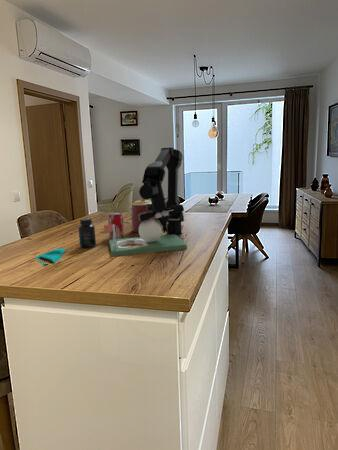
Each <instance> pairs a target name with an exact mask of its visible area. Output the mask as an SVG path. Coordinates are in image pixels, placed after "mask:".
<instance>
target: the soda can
mask: <svg viewBox="0 0 338 450" xmlns="http://www.w3.org/2000/svg"><path fill="white" fill-rule="evenodd" d="M107 219H108V220H107V221H108V223H107V225H115V239H124V238H125V224H124V216H123V215H122V212H118V211H117V212H109V213H108V217H107ZM108 236H109V238H110V240H112V239H113V231H108Z"/></svg>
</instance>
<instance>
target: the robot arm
mask: <svg viewBox="0 0 338 450" xmlns="http://www.w3.org/2000/svg"><path fill="white" fill-rule="evenodd" d="M182 160H183V153H182V151H180V150H178V149H176V148H174V147H173V146H165V147H164V146H163V147H161V148H160V152H159V154H158V155H157V157H156V158H155V160H154V161H153V162H152V163H150V164H148V165H146V167H145V169H144V173H143V177H142V180H141V181H142V184H143V185H141V186H140V188H139V190H138V193H139V196H140V198H141V197H142V198H143V199H145V200H150V201H151V204H146V207H147V211H148V212H151V211H152V213H148V212H145V213H141V214H139V215H138V218H139V221H145V220H148V219H149V218H150V217H155V218H154V219H156V220H157V221H158V222H159V223H160V224H161V226H162V233H164V234H165V233H166V234H167V235H172V234H175V235H183V232H182V222H184V221H185V216H184V214H183V212H184V211H185V209H184V206H183V205H182V204H180V203H179V200H178V196H179V195H178V194H179V193H178V191H179V190H178V187H179V186H178V185H179V184H178V180H179V179H178V178H179V169H180V167H181V166H182ZM165 168H167V201H166V197H165V195H164V189H163V186H162V184H163V181H164V179H165V176H166V170H165Z"/></svg>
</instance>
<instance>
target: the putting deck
mask: <svg viewBox="0 0 338 450" xmlns="http://www.w3.org/2000/svg"><path fill="white" fill-rule="evenodd" d="M103 229H104V231H103V232H104V233H105V232H109V231H113V239H109V240H108V242H109V249H110V253H111V254H110V255H111V256H112V257H115V256H116V257H117V256H126V255H127V256H128V255H135V254H136V255H137V254H149V253H159V252H160V253H161V252H168V251H171V252H172V251H177V250H178V251H180V250H188V245H187V243H186V242H184V241H183V239H181V238H180V237H179V236H178V234H176V235H175V234H172V235H169V234H162V235H161V237H160V238H159V239H158V240H157V241H155V242H146V241H144V240H143V239H142V238H141V237H140V236H139V237H138V236H136V237H127V238H125V237H123V238H122V239H115V225H108V224H104V225H103ZM127 245H139V246H127Z"/></svg>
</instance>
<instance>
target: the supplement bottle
mask: <svg viewBox="0 0 338 450" xmlns="http://www.w3.org/2000/svg"><path fill="white" fill-rule="evenodd" d="M92 223H93V220H92V218H82V219H81V218H80V220H79V224H80V225H79V226H78V238H79V246H80V248H81V249H91V248H94V247H96V245H97V242H96V240H97V239H96V230H95V229H96V228H95V226H94V224H92Z"/></svg>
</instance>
